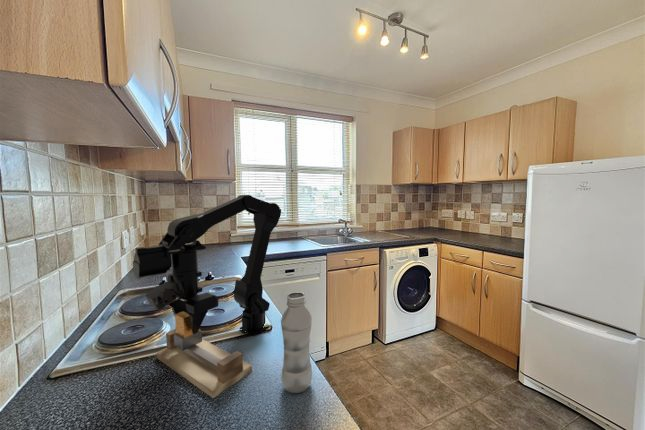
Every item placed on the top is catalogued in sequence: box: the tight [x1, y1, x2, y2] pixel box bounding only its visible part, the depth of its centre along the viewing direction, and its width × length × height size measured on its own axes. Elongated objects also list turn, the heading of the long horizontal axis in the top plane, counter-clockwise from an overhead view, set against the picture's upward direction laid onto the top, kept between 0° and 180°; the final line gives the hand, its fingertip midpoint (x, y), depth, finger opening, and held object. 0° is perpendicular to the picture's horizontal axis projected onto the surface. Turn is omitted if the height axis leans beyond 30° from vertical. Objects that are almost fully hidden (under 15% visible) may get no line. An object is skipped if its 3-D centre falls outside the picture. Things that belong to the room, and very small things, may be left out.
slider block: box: [174, 311, 203, 351], centre depth 67 cm, size 5×4×8 cm
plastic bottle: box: [280, 291, 313, 394], centre depth 56 cm, size 6×7×20 cm
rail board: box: [156, 328, 253, 399], centre depth 64 cm, size 10×24×6 cm, turn 56°
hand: (187, 329), depth 67 cm, fingers open, 6 cm apart
